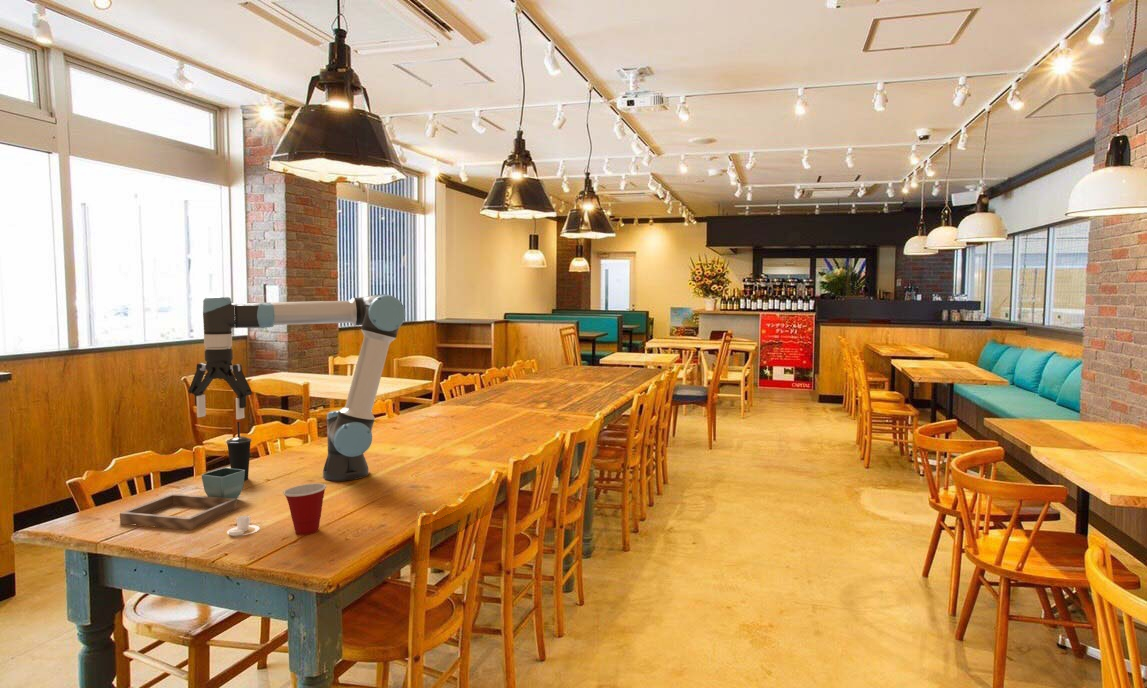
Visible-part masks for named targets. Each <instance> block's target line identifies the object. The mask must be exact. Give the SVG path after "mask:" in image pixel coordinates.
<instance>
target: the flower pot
mask: <svg viewBox="0 0 1147 688" xmlns="http://www.w3.org/2000/svg"><path fill="white" fill-rule="evenodd" d="M244 476H245V470H241V469H232V468H231V467H223V468H219V469H216V470H212V471H208V472H205V473H202V474H201V480H202V485H203V490H204V493H205V495H206V496H208V497H221V498H233V499H237V500H238V498H239V497H240V495H241V493H242V491H243V489H244V483H245V481H244Z"/></svg>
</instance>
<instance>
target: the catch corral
mask: <svg viewBox="0 0 1147 688" xmlns="http://www.w3.org/2000/svg"><path fill="white" fill-rule="evenodd" d="M171 506H179V507H180V506H183V507H193V508H194V507H195V508H206V510H203V511H202V512H199V513H196V514H194V515H192V516H190V517H186V516H175V515H166V514H165V515H164V514H163V515H162V514H154V513H156V512H159V511H161V510H164V509H166V508H169V507H171ZM237 509H238V498H237V499H233V498H221V497H208V496H207V495H193V494H181V493H179V494H178V493H171V494H168V495H165V496H162V497H160V498H158V499H157V498H156V499H154V500H151V501H149V502H146V503H144V504H141V505H138V506H135V507H133V508H131V509H128V510H125V511H122V512H119V524H120V523H122V524H121V525H127V524H136V525H135V526H138V525H146V526H145V527H149V526H155V527H154V528H160V527H165V528H164V529H171V528H175V529H174V530H182V529H186V530H185V531H191V530H193V529H196V528H198V527H200V526H202V524H203V525H205V524H206V523H209V522H211V521H213V520H216V519H218V518H220V517H222V516H224V515H226V514H229V513H231V512H233V511H235V510H237ZM204 523H205V524H204Z"/></svg>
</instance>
